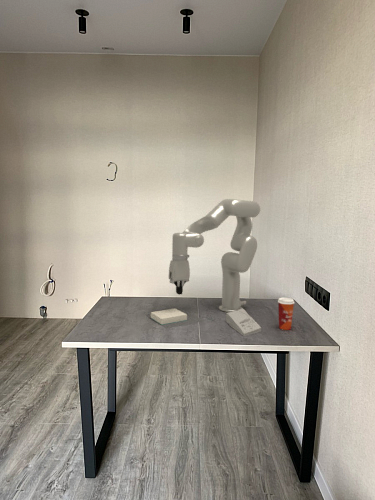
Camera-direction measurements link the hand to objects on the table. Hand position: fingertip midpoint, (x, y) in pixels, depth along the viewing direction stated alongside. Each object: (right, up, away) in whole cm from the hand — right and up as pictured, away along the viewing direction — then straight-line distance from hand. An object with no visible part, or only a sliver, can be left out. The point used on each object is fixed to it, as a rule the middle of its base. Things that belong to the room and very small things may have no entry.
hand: (179, 293), depth 189 cm
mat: (-2, -13, +1) cm, 13 cm away
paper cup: (+50, -15, -11) cm, 54 cm away
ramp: (+31, -15, -8) cm, 35 cm away
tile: (+1, -11, +2) cm, 11 cm away
